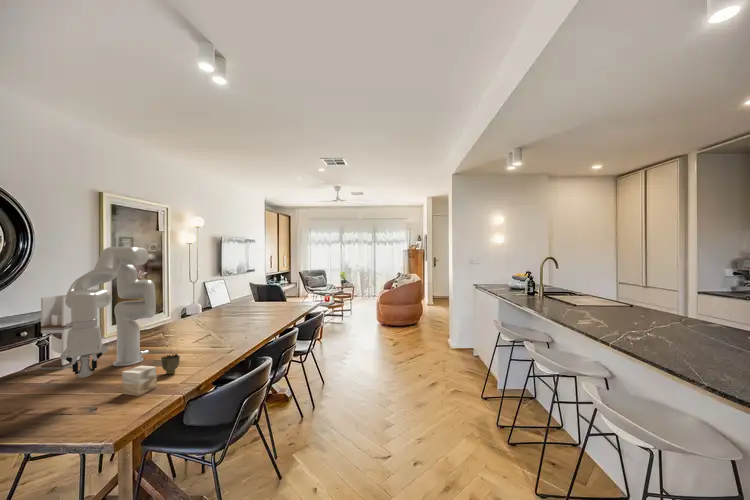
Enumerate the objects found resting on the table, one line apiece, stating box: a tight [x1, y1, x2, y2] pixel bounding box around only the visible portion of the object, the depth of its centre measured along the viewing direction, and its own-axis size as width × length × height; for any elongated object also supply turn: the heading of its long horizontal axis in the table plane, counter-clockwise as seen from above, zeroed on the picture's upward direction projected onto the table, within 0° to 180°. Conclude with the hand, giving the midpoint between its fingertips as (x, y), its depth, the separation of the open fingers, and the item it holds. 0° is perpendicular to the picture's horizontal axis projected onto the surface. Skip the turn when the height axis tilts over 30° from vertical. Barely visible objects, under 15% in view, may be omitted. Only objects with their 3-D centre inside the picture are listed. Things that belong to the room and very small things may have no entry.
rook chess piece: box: [77, 355, 93, 378], centre depth 129 cm, size 4×4×8 cm
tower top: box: [121, 365, 157, 385], centre depth 136 cm, size 8×8×4 cm
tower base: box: [122, 377, 158, 397], centre depth 136 cm, size 8×8×4 cm
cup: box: [161, 353, 181, 375], centre depth 156 cm, size 8×7×8 cm
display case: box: [40, 294, 81, 371], centre depth 168 cm, size 11×11×35 cm
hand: (85, 371), depth 129 cm, fingers closed on rook chess piece, 4 cm apart
